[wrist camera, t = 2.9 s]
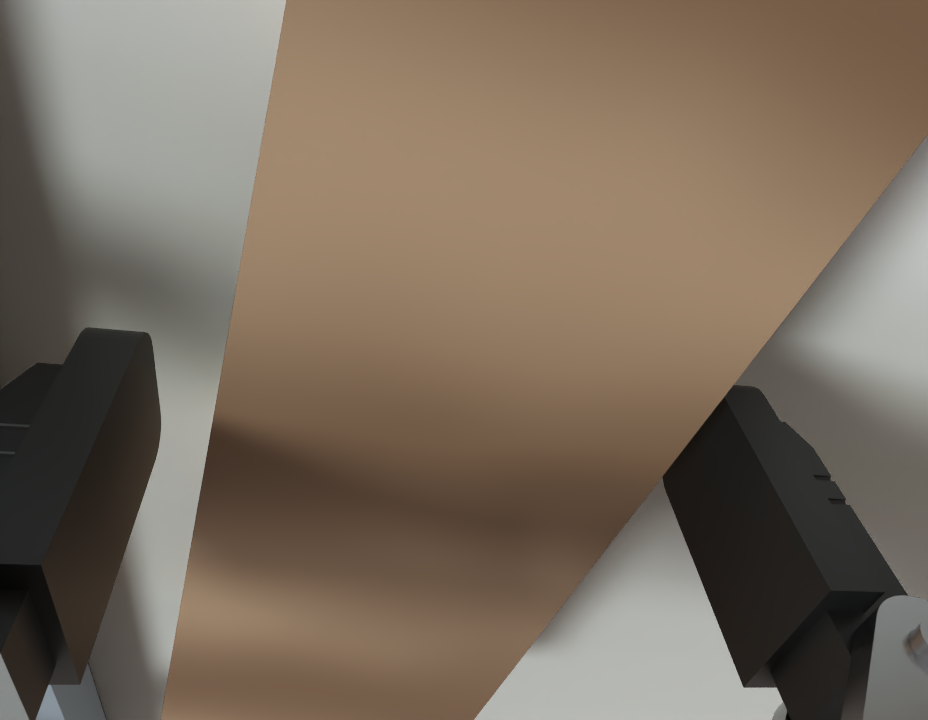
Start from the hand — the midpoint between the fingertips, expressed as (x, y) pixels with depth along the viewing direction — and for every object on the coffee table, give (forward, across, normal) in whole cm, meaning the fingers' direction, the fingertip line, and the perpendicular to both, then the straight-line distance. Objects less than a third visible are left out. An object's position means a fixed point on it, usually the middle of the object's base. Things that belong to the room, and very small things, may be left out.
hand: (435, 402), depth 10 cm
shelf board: (+2, 0, 0) cm, 2 cm away
